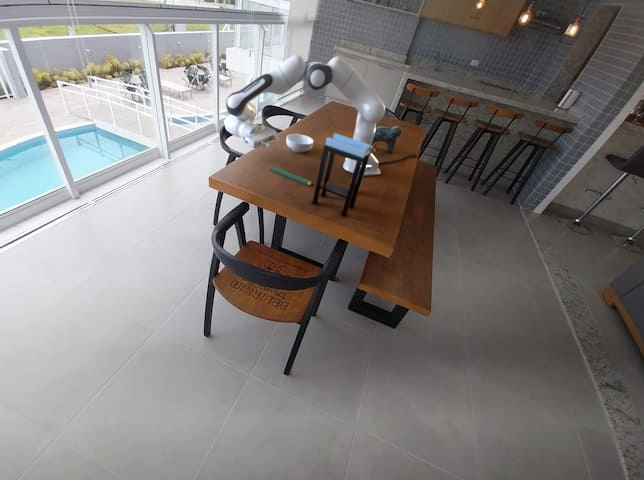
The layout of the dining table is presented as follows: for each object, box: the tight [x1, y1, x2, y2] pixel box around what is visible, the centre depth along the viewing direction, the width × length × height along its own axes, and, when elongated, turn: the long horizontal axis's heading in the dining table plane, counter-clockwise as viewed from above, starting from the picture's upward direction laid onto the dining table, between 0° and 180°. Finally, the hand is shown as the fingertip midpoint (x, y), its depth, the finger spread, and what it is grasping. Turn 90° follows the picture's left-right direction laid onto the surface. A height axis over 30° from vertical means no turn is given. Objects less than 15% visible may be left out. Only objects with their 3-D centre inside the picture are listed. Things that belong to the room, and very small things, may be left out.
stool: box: [312, 144, 371, 217], centre depth 135 cm, size 17×11×27 cm, turn 60°
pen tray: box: [325, 132, 373, 158], centre depth 125 cm, size 17×8×3 cm, turn 60°
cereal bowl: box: [285, 133, 314, 154], centre depth 186 cm, size 17×17×7 cm
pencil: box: [271, 166, 313, 186], centre depth 159 cm, size 24×2×1 cm, turn 60°
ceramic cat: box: [372, 119, 402, 154], centre depth 201 cm, size 20×6×20 cm, turn 84°
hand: (274, 143), depth 154 cm, fingers open, 8 cm apart
